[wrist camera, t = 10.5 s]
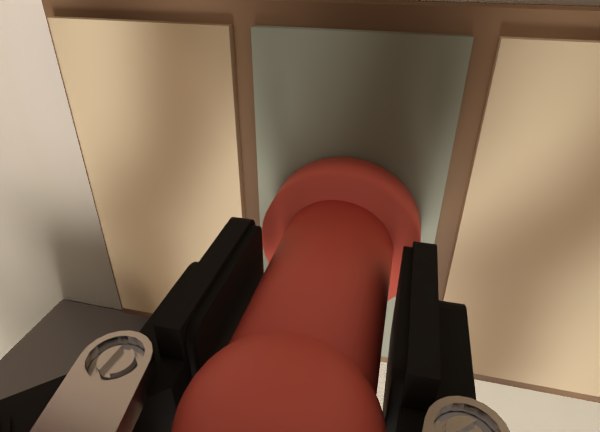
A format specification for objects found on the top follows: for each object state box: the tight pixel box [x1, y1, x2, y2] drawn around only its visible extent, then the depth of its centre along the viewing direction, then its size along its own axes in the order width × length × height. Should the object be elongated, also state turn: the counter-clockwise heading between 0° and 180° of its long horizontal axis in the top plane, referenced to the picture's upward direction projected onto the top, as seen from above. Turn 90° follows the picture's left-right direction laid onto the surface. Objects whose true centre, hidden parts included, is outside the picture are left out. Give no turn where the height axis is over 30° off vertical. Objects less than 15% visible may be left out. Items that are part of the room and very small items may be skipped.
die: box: [0, 300, 149, 400], centre depth 19 cm, size 6×6×6 cm
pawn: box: [171, 157, 421, 432], centre depth 10 cm, size 4×4×9 cm
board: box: [42, 0, 600, 403], centre depth 13 cm, size 30×12×1 cm, turn 90°
